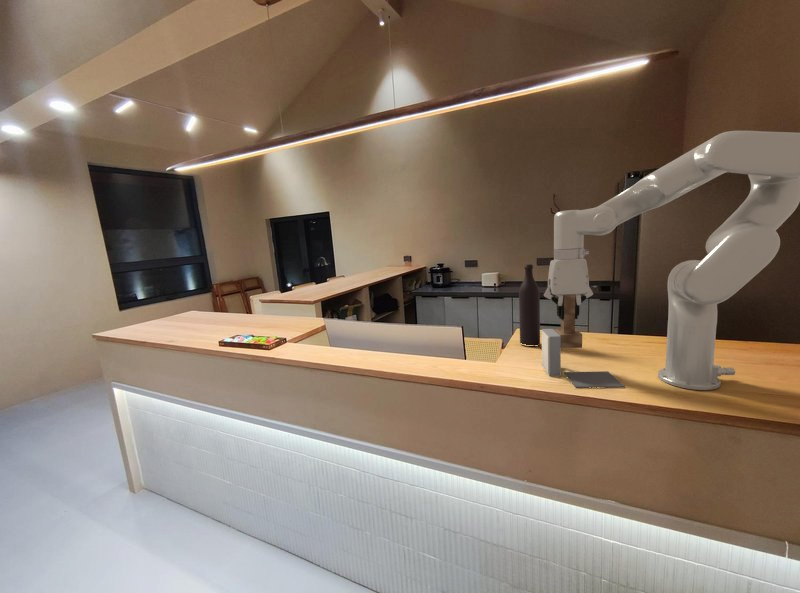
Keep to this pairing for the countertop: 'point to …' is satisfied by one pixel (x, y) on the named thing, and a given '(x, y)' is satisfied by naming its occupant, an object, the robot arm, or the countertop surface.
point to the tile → (551, 352)
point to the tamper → (569, 325)
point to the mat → (593, 379)
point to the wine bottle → (529, 309)
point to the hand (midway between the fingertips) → (567, 317)
